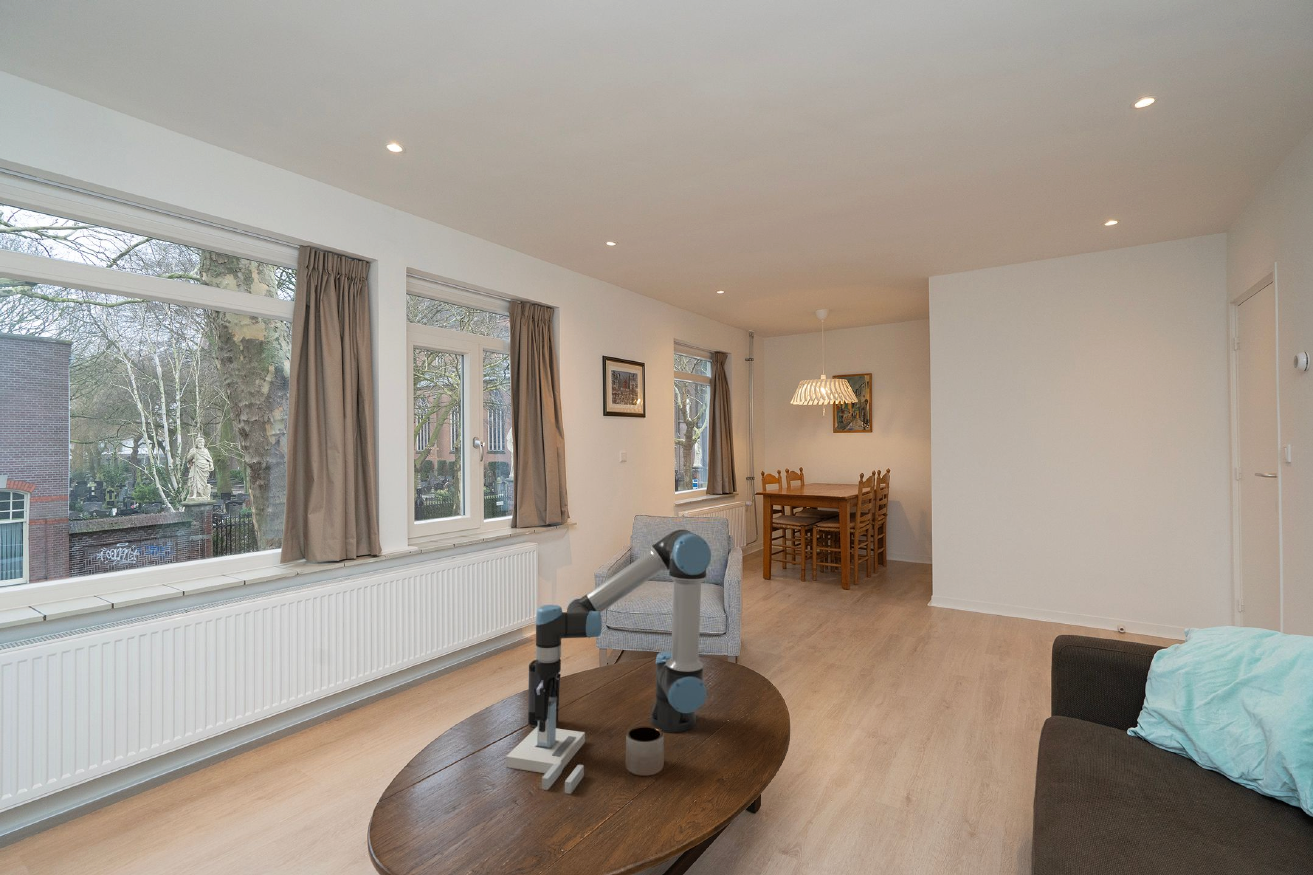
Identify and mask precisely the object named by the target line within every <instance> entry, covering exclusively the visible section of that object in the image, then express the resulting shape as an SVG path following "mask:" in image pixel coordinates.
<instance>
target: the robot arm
mask: <svg viewBox="0 0 1313 875" xmlns="http://www.w3.org/2000/svg"><path fill="white" fill-rule="evenodd" d="M711 552H712V551H711V548H710V545H709V544H708V543H707V541H706V540H705V539H704V538H703V537H702V536H700V535H699V534H696V533H693V532H691V531H690V530H687V529H677V530H674V531H672V532H670V533H668V534H666V536H664V537H662V538H661V539H660V540H658V541H657V542H656V543H654V544H652V545H651V546H650V550H649V551H648V552H646V553H644V554H643V555H642V556H641V557H638V559H636V560H634V561H633V562H632V563H629V565H627V566H626V567H624V568H623V569H621V570H620V571H619V572H617V573H615V574H614V575H613V576H611V577H610V578H608V579H607V580H605V581H604V582H602V583H601V584H599V585H597V587H595V588H594V589H592V590H590V592H588V593H586V594H585V595H583V596H582V597H581V598H574V599H572V600H571V601H570V602H569V603H568V605H567V606H566V607H567V608H566V612H563V608H562V607H561V606H560V605H558V604H545V605H541V606H540V607H538V608H537V611H536V620H535V647H534V649H535V660H536V661H535V672H536V673H537V674H538V675H539V676H540V679H539V686H538V687H535V688H534V693H535V720H537V721H539V741H538V742H545V743H547V742H548V719H547V713H548V702H549V696H551V697H557V701H556V707H558V709H556V712H558V713H559V710H560V709H559V706H560V688H561V687H560V683H561V682H560V681H561V675H562V674H561V670H562V668H561V667H562V659H561V658H562V639H577V638H578V639H579V638H580V639H581V638H585V639H586V638H588V639H590V638H595V637H599V636H601V634H602V629H603V628H602V625H603V624H602V623H603V621H602V612H604V611H605V610H607V609H608V608H610V607H611V606H612V605H614V604H616V603H617V602H618V601H620V600H622V599H623V598H624V597H625V596H627V595H629V594H630V593H632V592H633V591H634V590H636V589H637V588H638V587H640V586H642V585H644V584H645V583H646V582H648V581H649V580H650V579H652V578H653V577H655V576H656V575H658V574H659V573H661V572H662V571H664V572H665V571H666V572H667V571H669V573H668V575H669V577H670V579H671V580H672V581H673V591H672V592H673V593H672V594H673V596H672V600H673V601H672V623H671V624H672V625H671V650H667V651H666V650H665V651H661V652H659V653H658V654H656V658H655V700H654V703H653V707H652V710H651V713H650V718H649V719H650V720H649V721H650V722H649V723H650V726H654V727H657V728H659V729H661V730H662V731H663V732H666V733H682V732H683V733H684V732H687V731H689V730H692V728H694V727H695V726H696V723H697V721H696V719H697V716H696V711H697V710H699V709H700V708H701V707H702V706H703V705H704V703H705V701H706V699H707V688H706V684H705V683H704V681H703V680H704V679H703V678H704V664H703V662H702V661H701V660H700V658H699V657H700V656H699V654H700V651H699V650H700V624H701V622H700V621H701V598H702V597H701V595H702V594H701V593H702V582H703V581H704V580H706V578H707V568H708V567H709V566H710V564H711V560H712V553H711Z"/></svg>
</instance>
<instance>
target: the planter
mask: <svg viewBox="0 0 1313 875" xmlns="http://www.w3.org/2000/svg"><path fill="white" fill-rule="evenodd" d="M625 740H626V741H625V745H626V746H625V768H626V770H628V772H629V773H630V774H633V775H635V776H639V777H640V776H641V777H649V776H654V775H657V774H658V773H660V772H661V771H662V770H663V768H664V765H665V764H664V761H665V760H664V759H665V758H664V757H665V755H664V754H665V753H664V752H665V750H664V743H665V742H664V731H662V730H661V729H659V728H657V727H654V726H652V725H646V724H645V725H643V724H642V725H637V726H633V727H631V728H629V729H627V731H626V738H625Z"/></svg>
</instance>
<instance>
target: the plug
mask: <svg viewBox="0 0 1313 875" xmlns="http://www.w3.org/2000/svg"><path fill="white" fill-rule="evenodd" d="M556 701H557V697H551V696H549V702H548V713H547V719H548V742H547V743H545V742H538V741H539V721H538V735H537V746H543V747H549V748H550V747H551V746H552V745H553V744H554V742H555V741H556V728H557V724H556Z"/></svg>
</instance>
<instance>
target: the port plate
mask: <svg viewBox="0 0 1313 875" xmlns="http://www.w3.org/2000/svg"><path fill="white" fill-rule="evenodd" d="M537 735H538V726H537V727H534V729H533V730H532V731H531V732H530V733H528V735H527V736H526V737H525V738H523V740H521V742H520V743H518V745H516V746H515V747H514V748H513V749H511V751H510V752H509V753H508V754H507V755H506V756H505V767H506V768H509V769H510V768H511V769H517V770H523V771H528V772H535V773H536V772H537V773H542V774H546V772H547V771H548V770H549V769H550V768H551V767H552V766H553V764H559V762H562V770H564V768H565V767H566V766H567V765H568V764H569V762H570V761H571V760H572V759H573V757H574V756H575V755H576V754H577V752H578V751H579V750H580V749H581V748H582V747H583V746H584V745H585V743H586V732H585V731H584V732H583V731H577V730H569V729H561V728H557V727H556V741H555V742H554V744H553V745H552V746H551V747H550V748H549V747H543V746H537ZM555 762H557V763H555Z"/></svg>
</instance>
